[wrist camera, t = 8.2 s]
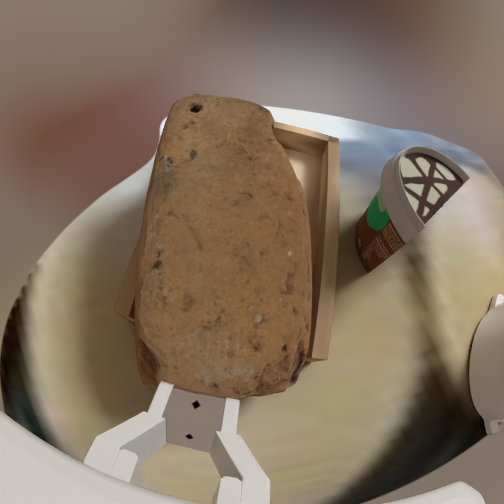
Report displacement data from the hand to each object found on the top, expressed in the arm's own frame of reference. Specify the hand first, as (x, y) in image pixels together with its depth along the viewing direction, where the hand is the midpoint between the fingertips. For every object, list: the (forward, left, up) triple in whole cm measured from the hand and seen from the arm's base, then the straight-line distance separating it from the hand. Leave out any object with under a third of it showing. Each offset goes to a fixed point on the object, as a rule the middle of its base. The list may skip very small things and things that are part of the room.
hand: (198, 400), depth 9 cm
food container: (-14, -18, -12) cm, 25 cm away
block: (-1, 0, -7) cm, 8 cm away
